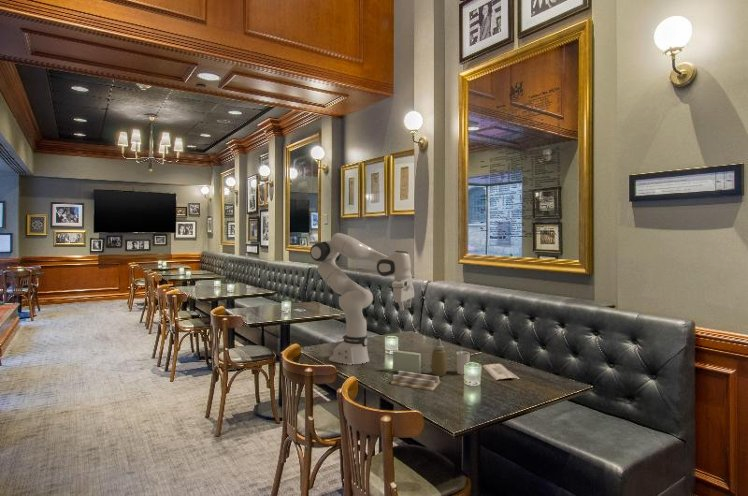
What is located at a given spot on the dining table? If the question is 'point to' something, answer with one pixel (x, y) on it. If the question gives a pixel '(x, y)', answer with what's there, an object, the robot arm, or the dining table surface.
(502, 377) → the newspaper
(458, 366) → the grey cylinder
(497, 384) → the dining table surface
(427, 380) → the door track
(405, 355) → the door panel
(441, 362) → the squeeze bottle
